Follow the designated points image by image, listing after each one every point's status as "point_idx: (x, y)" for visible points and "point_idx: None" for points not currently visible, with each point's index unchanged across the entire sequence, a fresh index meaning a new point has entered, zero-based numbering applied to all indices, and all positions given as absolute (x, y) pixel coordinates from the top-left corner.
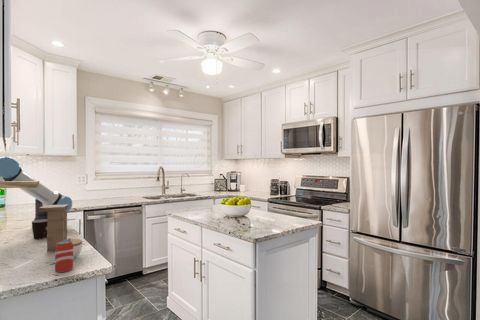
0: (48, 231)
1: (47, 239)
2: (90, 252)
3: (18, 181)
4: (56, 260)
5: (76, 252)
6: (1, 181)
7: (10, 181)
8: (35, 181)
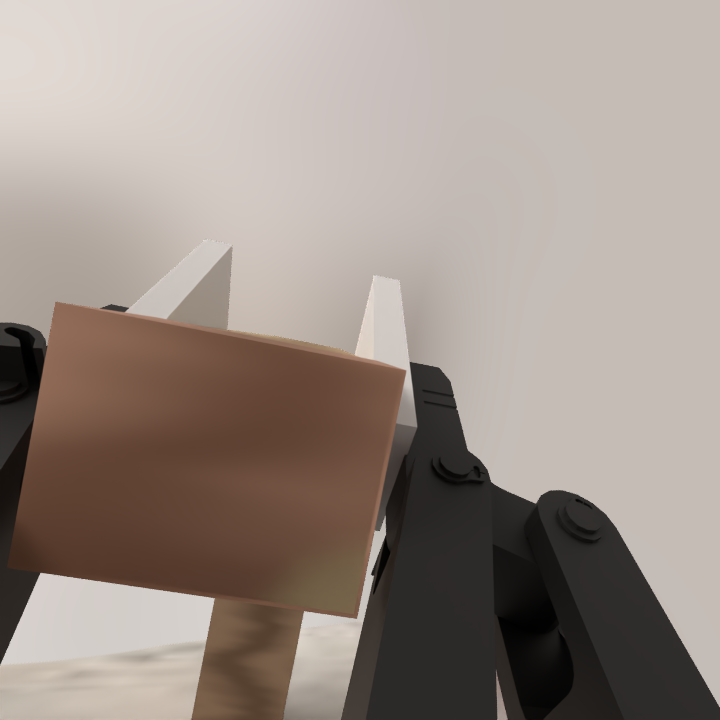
0: (294, 658)
1: (283, 711)
2: (343, 631)
3: (291, 340)
4: None
5: None
6: (227, 330)
7: (267, 336)
8: (322, 345)
